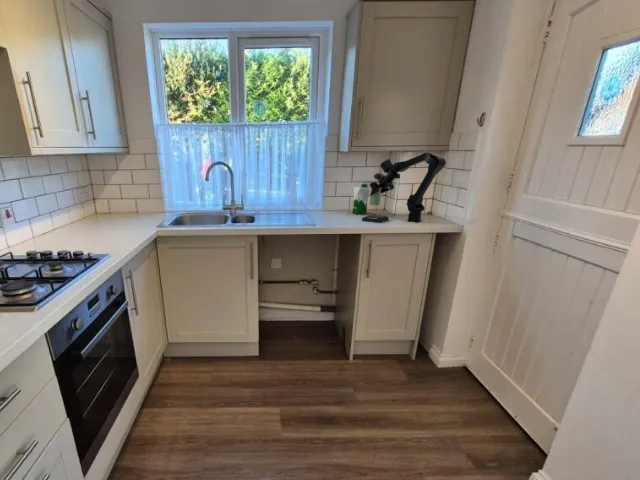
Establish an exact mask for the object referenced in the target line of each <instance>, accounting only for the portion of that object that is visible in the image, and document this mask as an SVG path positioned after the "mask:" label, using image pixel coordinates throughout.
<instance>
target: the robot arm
mask: <svg viewBox="0 0 640 480" xmlns="http://www.w3.org/2000/svg"><path fill="white" fill-rule="evenodd" d="M423 162H425V163H426V164H427V165H428V166H427V172H426V174H425V176H424V178H423V179H422V181H421V183H420V185H419V186H418V188H417V189H416V191H415V193H414V194H410V195H409V197H408V199H407V200H406V206H407V212H409V213H408V214H407V215H408V216H407V222H413V223H420V222H422V221H423V220H422V213H423V212H424V211H425V209H426V208H425V206H424V204H423V202H424V196H425V194H426V193H427V191H428V189H429V187H430V186H431V184H432V182H433V181H434V179H435V177H436V175H437V174H439V172H441V171H442V170H443V168H444V167H445V166H446V164H447V161H446V158H444V157H440V156H438V155H434V154H432V153H430V152H423V153H421V154H419V155H417V156H414V157H412V158H410V159H407V160H403V161H397V162H395V163H392V161H391V159H390V158H387V159H386V160H384V161H383V162H381V163H380V165H379V166H380V168H381V170H382V171H383V172H384V174H386V175H384V174H383V173H382V172H378V173H377V172H376V173H375V174H373V178H374V179H375V180H377V181H371V182H370V183H369V188H372V191H371V190H370V193H369V194H370V196H371V195H373V194H375V193H377V192H379V189H380V188H381V194H384V193H387V192H389V191H393V190H394V188H395V185H394V182H393V181H394V180H396V179H401V174H400V173H403V172H405V171H407V170H408V169H410V168H411V167H413V166H416V165H418V164H420V163H423Z"/></svg>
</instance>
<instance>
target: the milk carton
mask: <svg viewBox="0 0 640 480" xmlns="http://www.w3.org/2000/svg"><path fill="white" fill-rule="evenodd" d="M369 192H370V186H369V187H368V183H361V186H356V187H353V204H352V214H353V215H357V216H359V215H367V214H368V200H369V199H368V198H369Z"/></svg>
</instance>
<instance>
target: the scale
mask: <svg viewBox="0 0 640 480" xmlns="http://www.w3.org/2000/svg"><path fill="white" fill-rule="evenodd" d="M389 219H390V218H389V216H388V215H381V214H370V215H366V216H363V217H361V221H362V222H369V223H377V224H382V223H385V222H387V221H389Z"/></svg>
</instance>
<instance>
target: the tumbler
mask: <svg viewBox="0 0 640 480" xmlns="http://www.w3.org/2000/svg"><path fill="white" fill-rule="evenodd" d="M370 188H371V187H370ZM371 191H372V188H371V189H370V192H371ZM381 195H382V193H381V188H380V189H379V192H377V193H375V194H373V195H370V201H369V205H370V206H380V205H381V197H382V196H381Z"/></svg>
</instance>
